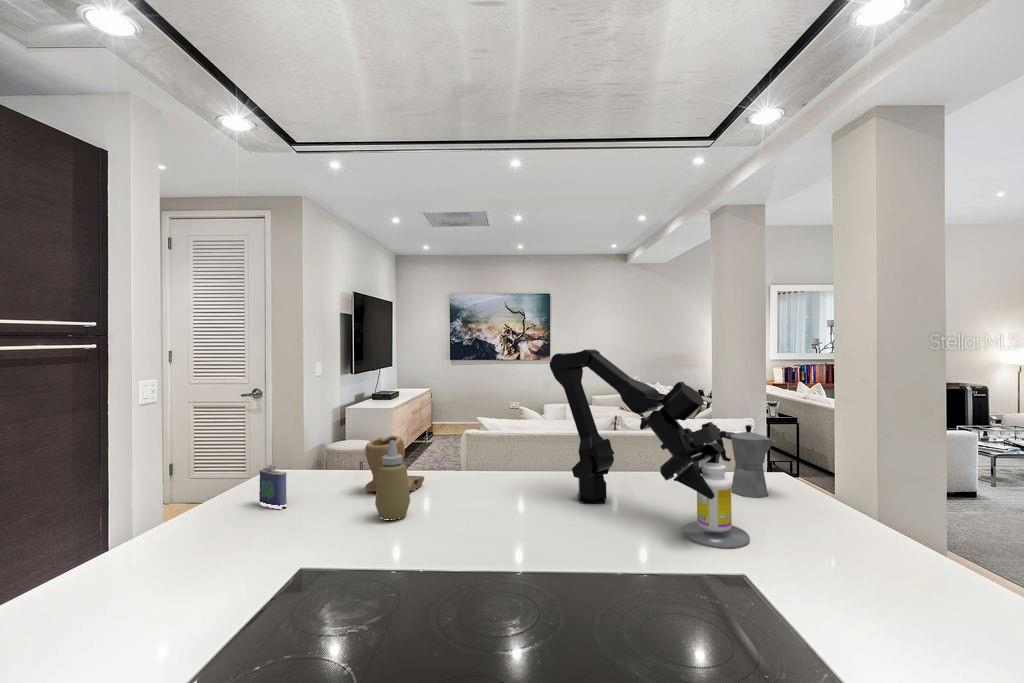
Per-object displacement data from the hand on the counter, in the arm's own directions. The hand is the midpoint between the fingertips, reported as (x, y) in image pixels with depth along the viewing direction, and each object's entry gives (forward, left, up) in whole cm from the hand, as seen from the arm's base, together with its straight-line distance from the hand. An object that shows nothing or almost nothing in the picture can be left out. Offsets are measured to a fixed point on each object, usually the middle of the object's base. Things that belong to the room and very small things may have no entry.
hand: (720, 494), depth 99 cm
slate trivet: (-1, +1, -9) cm, 9 cm away
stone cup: (-78, +30, -9) cm, 84 cm away
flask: (-105, +17, -9) cm, 107 cm away
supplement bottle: (-1, +1, -7) cm, 7 cm away
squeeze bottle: (-72, +10, -9) cm, 73 cm away
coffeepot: (+18, +30, -9) cm, 37 cm away
